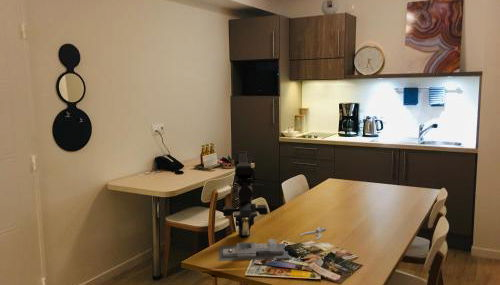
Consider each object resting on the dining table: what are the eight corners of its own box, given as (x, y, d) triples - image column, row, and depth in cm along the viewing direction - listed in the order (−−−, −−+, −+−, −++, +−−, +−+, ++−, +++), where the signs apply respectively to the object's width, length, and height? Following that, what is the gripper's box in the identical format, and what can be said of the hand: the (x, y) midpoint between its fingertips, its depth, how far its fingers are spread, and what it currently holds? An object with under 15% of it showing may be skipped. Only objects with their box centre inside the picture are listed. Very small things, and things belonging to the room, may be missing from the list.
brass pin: (241, 233, 178) (241, 217, 177) (248, 232, 178) (248, 217, 177) (243, 235, 175) (242, 219, 174) (249, 234, 175) (249, 219, 174)
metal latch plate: (236, 246, 181) (236, 239, 181) (275, 244, 182) (274, 238, 181) (237, 253, 173) (236, 246, 173) (277, 252, 174) (276, 244, 174)
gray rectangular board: (219, 247, 187) (219, 246, 187) (284, 245, 188) (284, 243, 188) (218, 262, 171) (218, 260, 171) (289, 259, 173) (289, 257, 172)
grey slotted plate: (223, 251, 181) (223, 246, 181) (281, 248, 182) (281, 244, 182) (223, 258, 173) (223, 253, 173) (284, 255, 174) (284, 251, 174)
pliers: (299, 233, 200) (314, 225, 211) (299, 236, 200) (314, 228, 211) (316, 237, 193) (331, 228, 205) (316, 241, 194) (331, 231, 205)
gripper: (222, 200, 166) (223, 237, 168) (268, 198, 167) (269, 235, 169) (222, 193, 177) (224, 228, 179) (265, 191, 178) (266, 226, 180)
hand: (245, 229), depth 176 cm, fingers closed on brass pin, 3 cm apart
